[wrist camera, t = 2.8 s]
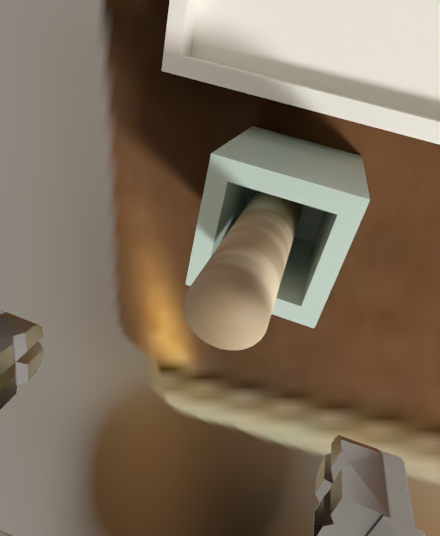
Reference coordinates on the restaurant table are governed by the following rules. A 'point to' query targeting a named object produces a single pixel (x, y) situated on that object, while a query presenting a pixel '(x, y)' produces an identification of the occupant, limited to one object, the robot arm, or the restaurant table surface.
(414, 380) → the restaurant table surface
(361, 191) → the celadon cup
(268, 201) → the beech dowel
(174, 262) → the restaurant table surface
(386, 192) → the restaurant table surface
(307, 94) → the melamine tray
